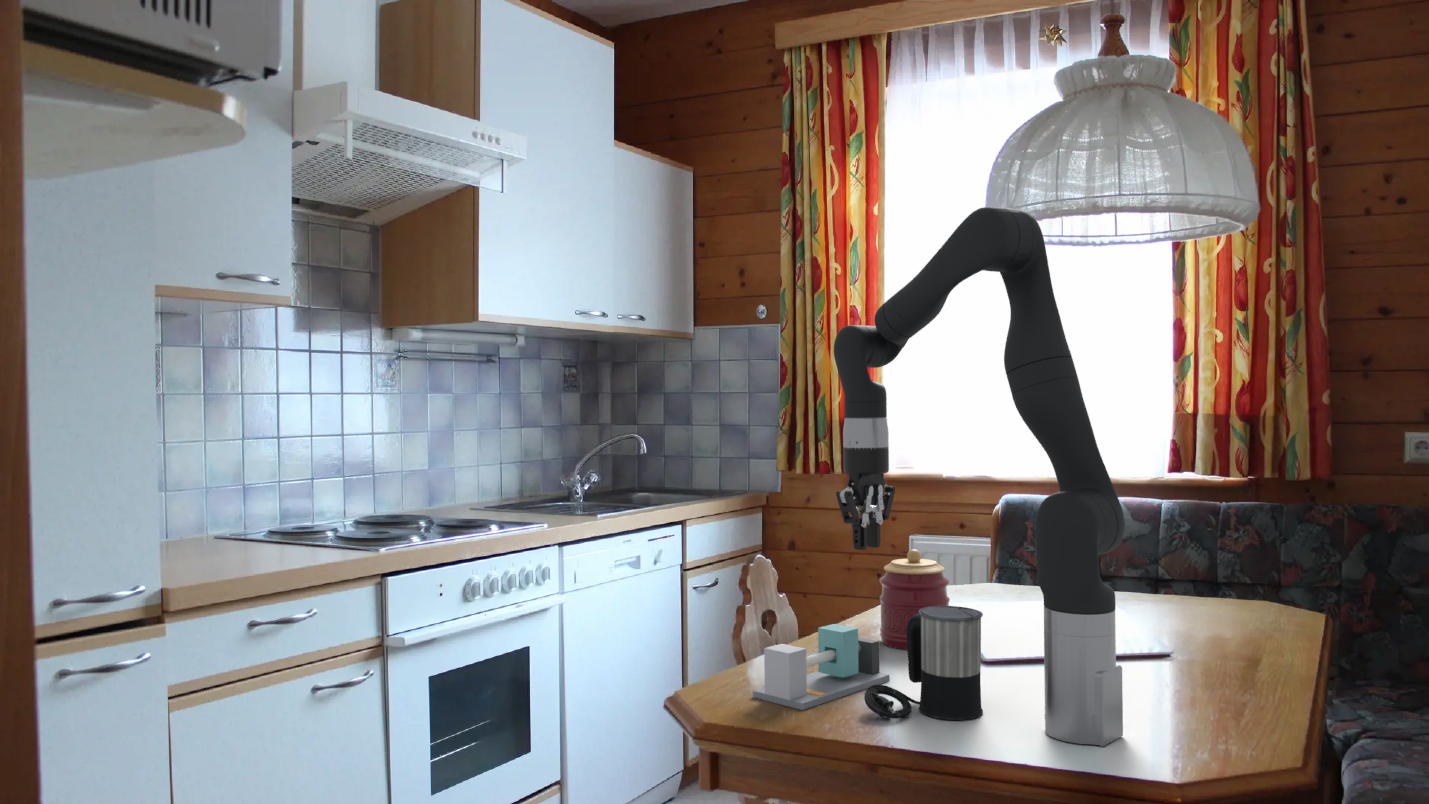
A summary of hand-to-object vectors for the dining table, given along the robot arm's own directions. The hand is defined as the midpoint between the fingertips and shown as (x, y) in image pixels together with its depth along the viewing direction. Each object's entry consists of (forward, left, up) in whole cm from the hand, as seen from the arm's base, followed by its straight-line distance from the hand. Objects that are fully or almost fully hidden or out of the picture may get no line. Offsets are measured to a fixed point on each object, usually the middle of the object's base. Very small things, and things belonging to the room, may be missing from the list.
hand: (867, 547), depth 175 cm
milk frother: (-19, +12, -21) cm, 31 cm away
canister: (+7, -24, -21) cm, 33 cm away
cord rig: (0, +12, -21) cm, 24 cm away
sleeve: (0, +8, -19) cm, 21 cm away
